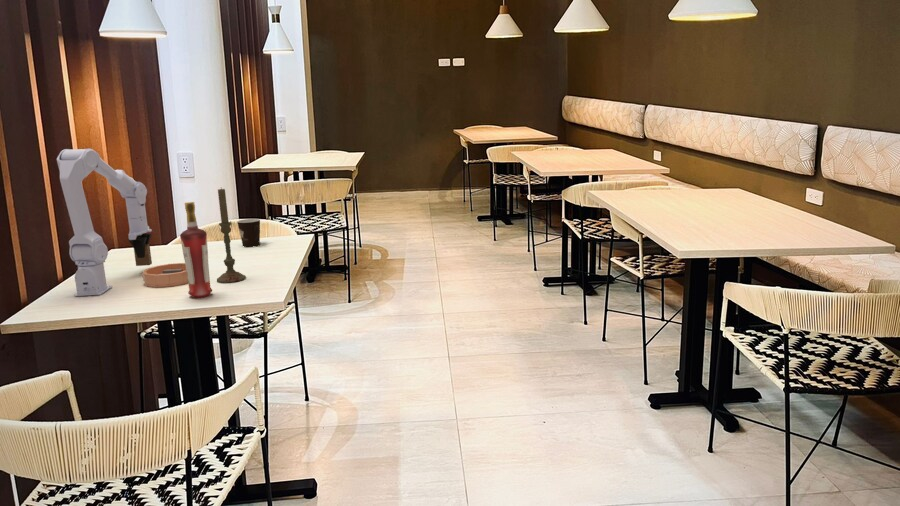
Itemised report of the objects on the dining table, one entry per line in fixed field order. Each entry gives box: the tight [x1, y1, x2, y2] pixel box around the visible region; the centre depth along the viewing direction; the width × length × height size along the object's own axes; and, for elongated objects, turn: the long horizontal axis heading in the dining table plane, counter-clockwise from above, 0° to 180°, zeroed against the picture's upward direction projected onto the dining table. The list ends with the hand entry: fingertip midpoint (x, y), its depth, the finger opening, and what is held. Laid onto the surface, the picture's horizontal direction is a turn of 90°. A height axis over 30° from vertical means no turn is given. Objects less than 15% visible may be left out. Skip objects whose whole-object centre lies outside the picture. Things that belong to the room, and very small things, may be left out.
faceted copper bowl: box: [141, 262, 188, 288], centre depth 236 cm, size 16×16×4 cm
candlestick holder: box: [216, 187, 247, 284], centre depth 231 cm, size 9×9×30 cm
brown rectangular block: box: [133, 243, 153, 267], centre depth 248 cm, size 2×4×7 cm, turn 94°
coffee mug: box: [237, 218, 261, 248], centre depth 285 cm, size 12×9×10 cm
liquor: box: [179, 201, 213, 299], centre depth 213 cm, size 7×7×28 cm
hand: (142, 256), depth 248 cm, fingers closed on brown rectangular block, 2 cm apart
